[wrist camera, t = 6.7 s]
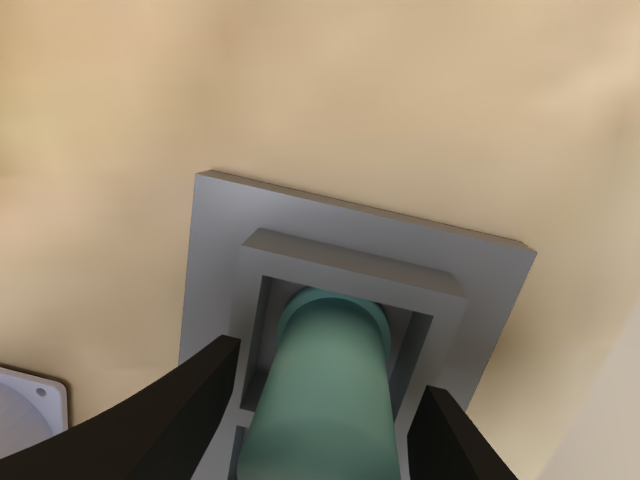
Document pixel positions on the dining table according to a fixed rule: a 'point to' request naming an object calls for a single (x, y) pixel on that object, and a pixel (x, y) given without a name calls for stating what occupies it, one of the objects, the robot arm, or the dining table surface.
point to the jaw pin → (325, 395)
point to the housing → (345, 278)
